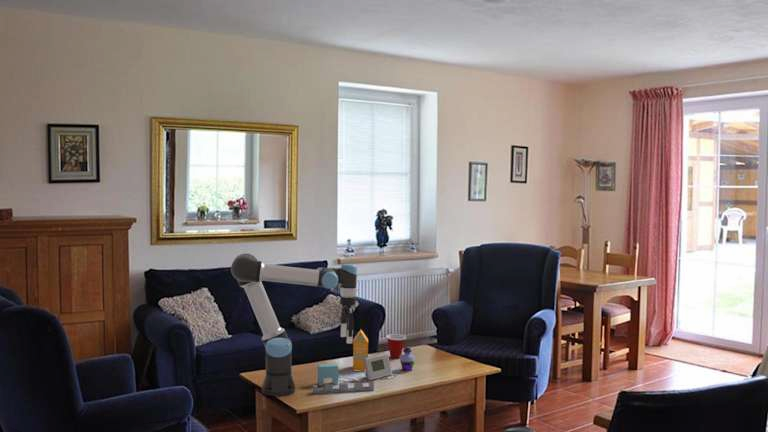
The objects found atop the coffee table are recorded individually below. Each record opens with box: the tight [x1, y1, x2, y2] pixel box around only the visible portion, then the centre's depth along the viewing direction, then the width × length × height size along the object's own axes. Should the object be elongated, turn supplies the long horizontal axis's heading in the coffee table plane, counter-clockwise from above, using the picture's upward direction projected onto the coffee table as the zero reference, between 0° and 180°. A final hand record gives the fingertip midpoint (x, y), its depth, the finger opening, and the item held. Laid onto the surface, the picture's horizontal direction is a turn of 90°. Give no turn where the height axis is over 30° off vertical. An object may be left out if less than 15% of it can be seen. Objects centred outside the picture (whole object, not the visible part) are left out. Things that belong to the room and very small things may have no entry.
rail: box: [312, 380, 375, 395], centre depth 310 cm, size 28×3×4 cm, turn 104°
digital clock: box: [364, 352, 393, 381], centre depth 334 cm, size 16×9×11 cm, turn 123°
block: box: [317, 363, 339, 387], centre depth 322 cm, size 9×4×9 cm, turn 104°
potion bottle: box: [399, 345, 416, 372], centre depth 348 cm, size 9×9×12 cm
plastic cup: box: [386, 333, 407, 360], centre depth 372 cm, size 11×11×12 cm
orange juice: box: [352, 328, 369, 371], centre depth 349 cm, size 8×9×20 cm
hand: (346, 340), depth 326 cm, fingers open, 13 cm apart
